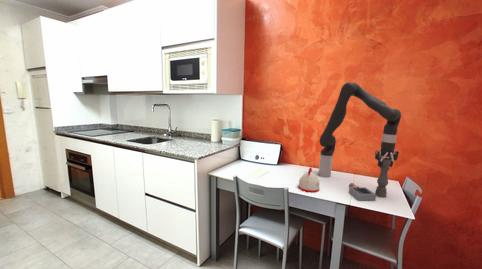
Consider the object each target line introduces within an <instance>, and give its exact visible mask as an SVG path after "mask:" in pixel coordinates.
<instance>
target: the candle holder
mask: <svg viewBox="0 0 482 269" xmlns="http://www.w3.org/2000/svg"><path fill="white" fill-rule="evenodd" d="M390 164H391V159H390V158H389V157H385V158H384V159H383V160H382V166H381V167H379V169H380V174H379V175H378V178H377V180H376V183H377V186H376V188H375V193H374V194H376V197H379V198H387V193H388V192H387V187H388V184H389V180H388V178H389V177H388V173H389V172H388V171H389V170H390V167H389V166H390Z"/></svg>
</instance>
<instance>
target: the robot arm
mask: <svg viewBox="0 0 482 269" xmlns="http://www.w3.org/2000/svg"><path fill="white" fill-rule="evenodd" d="M351 97H355V98H357V99H358V100H359V99H360V101H362V102H363V103H364V104H365V105H366V106H367V107H368V108H369V109H371V110H373V111H374V112H376V113H377V114H378V115H380V116H381V117H382V118H383V119H385V120H386V123H385V125H383V126H384V127H383V131H382V136H381V141H380V150H375V153H374V156H375V157H374V159H375V160H376V161H377V166H378V167H379V168H380V167H381V166H382V160H383V159H384V158H390V159H391V164H390V166H389V168H392V167H393V166H394V162H395V161H397V160H398V158H399V154H400V152H399V151H398V150H395V149H396V145H397V144H396V143H397V136H398V135H397V133H398V127H399V125H400V121H401V117H402V113H401V111H400V110H399V109H398V108H391V107H390V106H388V105H387V104H386V103H385V101H382V100H380V99H379V98H378V97H376V96H374V95H372V94H371V93H369V92H368V91H366V89H364V88H363V87H361V86H360V85H359V84H358V83H356V82H345V83H344V84H342V87H341V89H340V92H339V95H338V98H337V101H336V103H335V105H334V108H333V109H332V110H333V111H332V113H331V114H330V116H329V120H328V121H327V124H326V126H325V128H324V129H323V132H322V134H321V135H320V137H319V145H320V146H321V147H324V148H322V149H321V150H320V153H319V154H320V156H319V166H318V175H319V176H320V177H324V178H330V177H331V176H332V167H333V166H332V165H333V157H334V153H335V149H336V143H337V142H336V141H337V140H336V137H335V135H333V134H334V133H335V131H336V130H337V129H338V128H339V127H340V126H341V125H342V123H343V122H344V120H345V117H346V115H347V106H348V102H349V101H350V98H351Z"/></svg>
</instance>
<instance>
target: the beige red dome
mask: <svg viewBox="0 0 482 269" xmlns="http://www.w3.org/2000/svg"><path fill="white" fill-rule="evenodd" d="M312 171H313V168H312V166H311V167H310V166H309V169H308V172H305V173H303V175H302V176H301V177H300V178H299V180H298V187H297V188H298V189H299V190H300V191H302V192H304V191H305V193H309V192H310V193H309V194H312V193H313V194H314V193H317V192H319V191H320V180H319V178H318V177H317V176H316V174H315V173H314V172H312Z"/></svg>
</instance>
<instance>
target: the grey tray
mask: <svg viewBox="0 0 482 269" xmlns="http://www.w3.org/2000/svg"><path fill="white" fill-rule="evenodd" d="M349 193H350V194H349ZM348 194H349V195H351V197H352V198H354V199H356V200H357V202H376V199H377V196H376V194H375V193H374V192H373V191H372V190H370V189H369V188H367V187H366V186H365V187H364V186H363V187H360V186H358V185H355V184H354V183H352V182H351V183H349V184H348Z"/></svg>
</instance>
